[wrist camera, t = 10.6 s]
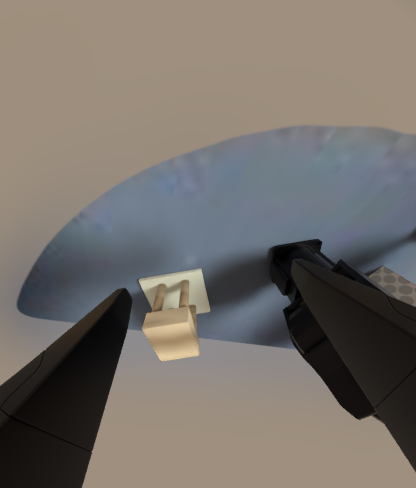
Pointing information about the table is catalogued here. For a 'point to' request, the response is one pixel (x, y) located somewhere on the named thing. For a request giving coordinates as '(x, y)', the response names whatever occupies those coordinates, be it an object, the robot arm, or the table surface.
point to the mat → (178, 289)
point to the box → (395, 285)
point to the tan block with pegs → (172, 326)
